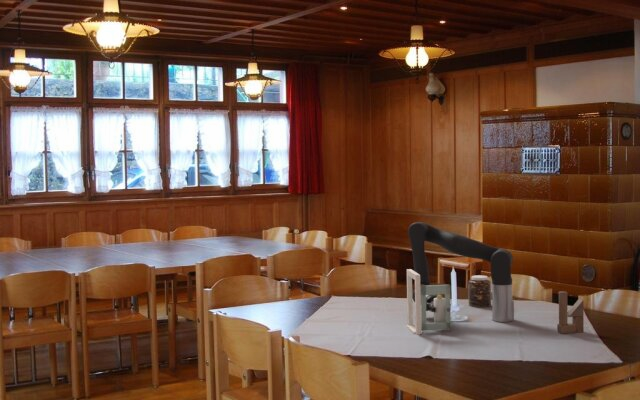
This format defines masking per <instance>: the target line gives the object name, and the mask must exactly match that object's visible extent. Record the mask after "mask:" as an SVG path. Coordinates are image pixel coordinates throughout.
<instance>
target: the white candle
mask: <svg viewBox="0 0 640 400" xmlns="http://www.w3.org/2000/svg"><path fill="white" fill-rule="evenodd" d="M436 296H437V298H434V307H435V308H436V312H433V323H439V322H445V297H443V295H442V294H438V295H436Z"/></svg>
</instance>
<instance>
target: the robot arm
mask: <svg viewBox="0 0 640 400" xmlns="http://www.w3.org/2000/svg"><path fill="white" fill-rule="evenodd" d="M407 233H408V237H409V238H408V239H409V242H410V246H411V252H412V260H413V271H415V272H416V273H418V274H419V275H420V285H422V286H428V285H431V281H430V273H429V270H430V269H429V263H428V260H427V256H426V251H425V242H428V243H432V244H435V245H438V246H440V248H443V249H444V250H446V251H448V252H450V253H452V254H455V255H459V256H460V257H461V256H462V257H465V258H471V259H472V258H473V259H479V260H483V261H486V262H488V263H490V277H491V308H492V315H491V317H492V321H494V322H500V323H506V322H512V321H513V322H514V321H515V301H514V299H513V278H512V273H511V272H512V271H511V270H512V269H511V267H512V265H513V262H514V256H513V254H512V253H511V252H510V251H509V250H507V249H504V248H499V247H495V246H492V245H487V244H485V243H482V242H480V241H477V240H475V239H473V238H470V237H467V236H464V235H461V234H458V233H456V232H451V231H446V230H442V229H439V228H437V227H435V226H432V225H430V224H428V223H426V222H424V221H423V222H422V221H417V222H413V223H411V224H410V225H409V226H408V231H407ZM420 292H421V288H420ZM437 296H438V295H426V312H428V311H429V312H431V313H434V312H436V308H435V307H434V298H437ZM412 302H414V303H415V289H414V290H412ZM451 305H452V303H450V311H451V307H452V306H451Z"/></svg>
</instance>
